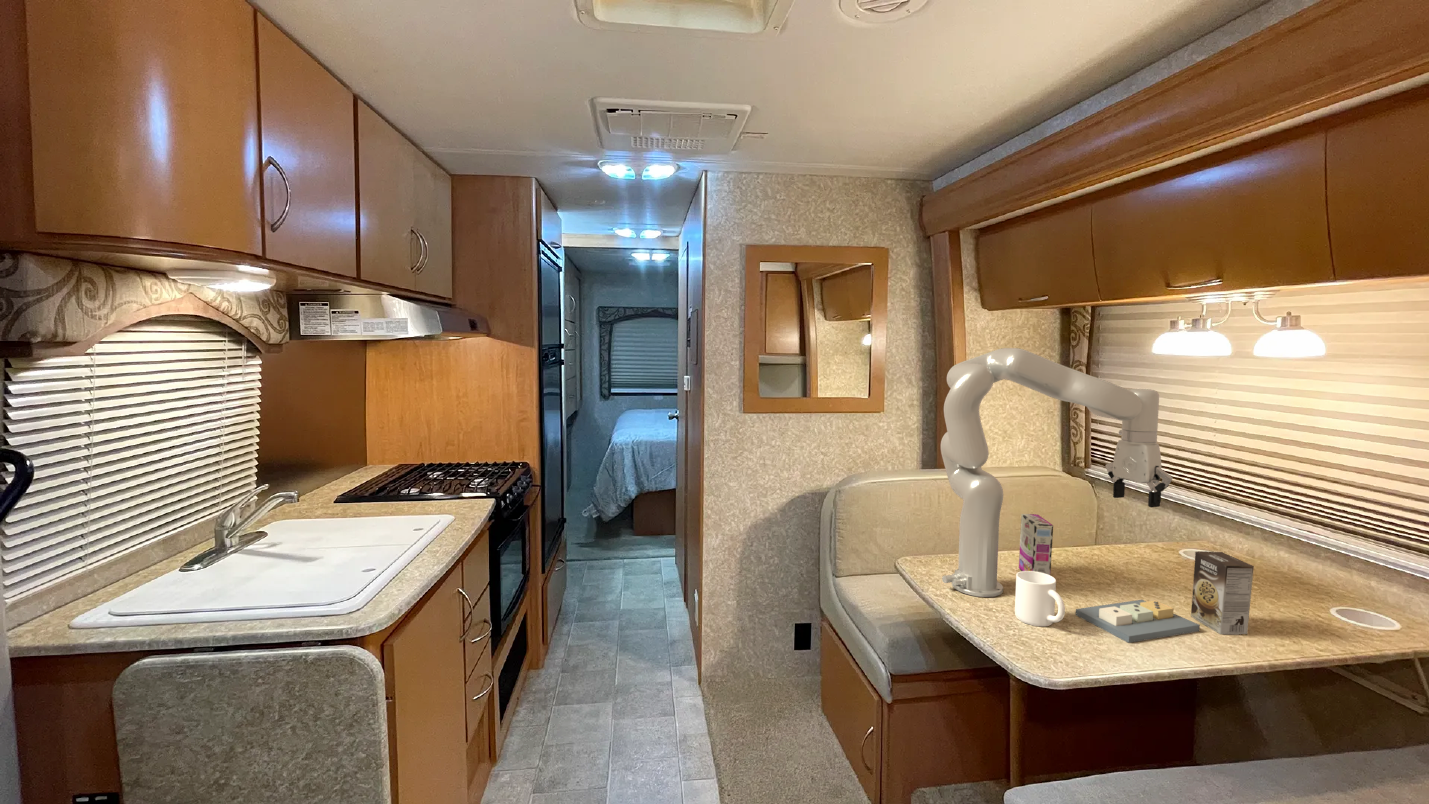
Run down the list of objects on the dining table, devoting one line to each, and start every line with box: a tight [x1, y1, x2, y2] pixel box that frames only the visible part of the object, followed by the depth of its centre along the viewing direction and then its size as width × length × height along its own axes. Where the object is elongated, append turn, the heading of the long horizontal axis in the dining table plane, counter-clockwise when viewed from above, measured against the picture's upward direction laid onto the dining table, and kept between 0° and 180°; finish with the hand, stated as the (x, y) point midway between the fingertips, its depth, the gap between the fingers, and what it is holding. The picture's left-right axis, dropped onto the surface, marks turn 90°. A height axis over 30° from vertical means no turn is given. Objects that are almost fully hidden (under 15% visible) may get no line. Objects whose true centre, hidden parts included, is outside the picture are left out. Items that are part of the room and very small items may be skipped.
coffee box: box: [1190, 550, 1255, 636], centre depth 138 cm, size 9×6×16 cm
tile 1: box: [1099, 606, 1132, 626], centre depth 139 cm, size 4×4×2 cm
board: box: [1075, 599, 1201, 644], centre depth 140 cm, size 20×14×2 cm
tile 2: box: [1120, 603, 1153, 623], centre depth 140 cm, size 4×4×2 cm
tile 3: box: [1140, 600, 1175, 620], centre depth 142 cm, size 4×4×2 cm
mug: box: [1014, 570, 1066, 627], centre depth 140 cm, size 12×8×10 cm
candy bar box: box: [1018, 513, 1054, 576], centre depth 168 cm, size 11×5×16 cm, turn 171°
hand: (1135, 501), depth 157 cm, fingers open, 9 cm apart
